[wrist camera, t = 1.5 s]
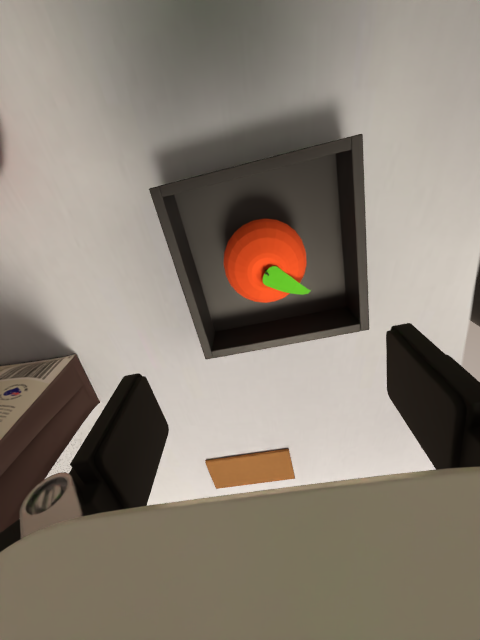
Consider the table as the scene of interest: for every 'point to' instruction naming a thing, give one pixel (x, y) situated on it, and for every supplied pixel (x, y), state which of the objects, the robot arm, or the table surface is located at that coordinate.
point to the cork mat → (251, 468)
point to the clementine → (265, 261)
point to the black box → (288, 207)
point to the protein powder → (37, 424)
